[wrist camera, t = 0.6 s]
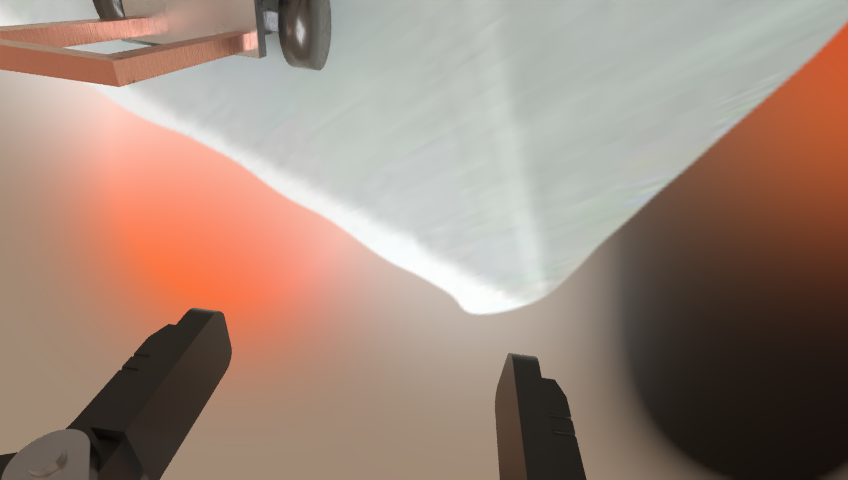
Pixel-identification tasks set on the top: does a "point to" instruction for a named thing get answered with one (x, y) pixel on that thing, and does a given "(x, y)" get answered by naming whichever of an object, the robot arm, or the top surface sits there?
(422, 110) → the top surface
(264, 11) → the trolley
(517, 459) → the robot arm
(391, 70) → the top surface
